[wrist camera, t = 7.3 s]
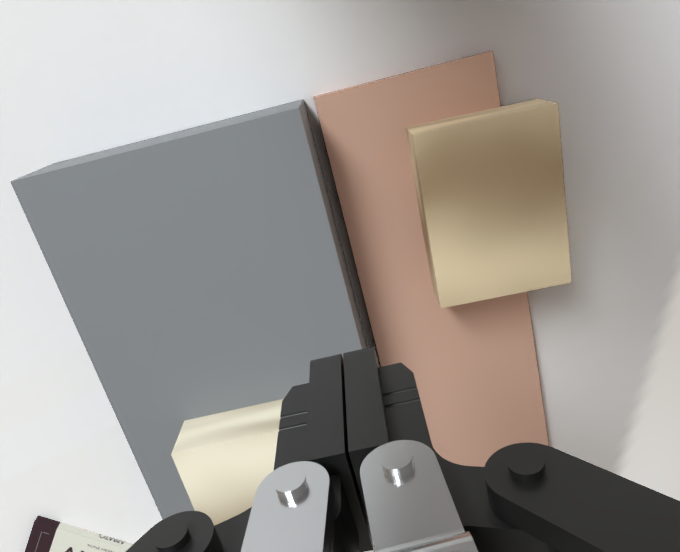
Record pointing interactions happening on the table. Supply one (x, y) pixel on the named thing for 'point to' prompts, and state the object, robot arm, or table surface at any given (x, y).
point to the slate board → (196, 273)
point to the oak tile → (492, 201)
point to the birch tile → (227, 458)
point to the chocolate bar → (69, 539)
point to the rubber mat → (413, 271)
